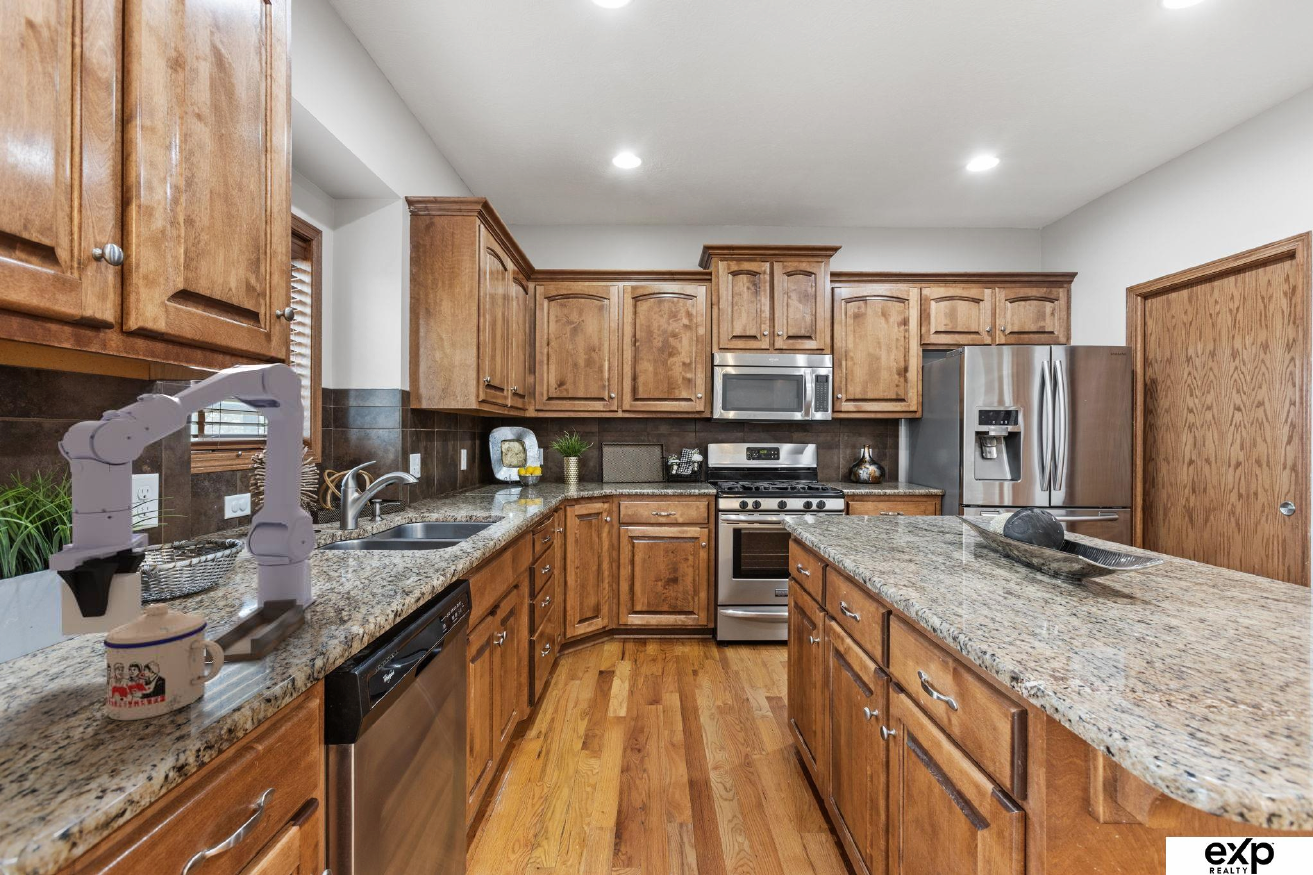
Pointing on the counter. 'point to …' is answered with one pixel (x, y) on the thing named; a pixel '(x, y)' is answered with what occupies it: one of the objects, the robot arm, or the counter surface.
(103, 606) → the robot arm
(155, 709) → the teacup with lid
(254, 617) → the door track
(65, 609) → the beige rectangular block
